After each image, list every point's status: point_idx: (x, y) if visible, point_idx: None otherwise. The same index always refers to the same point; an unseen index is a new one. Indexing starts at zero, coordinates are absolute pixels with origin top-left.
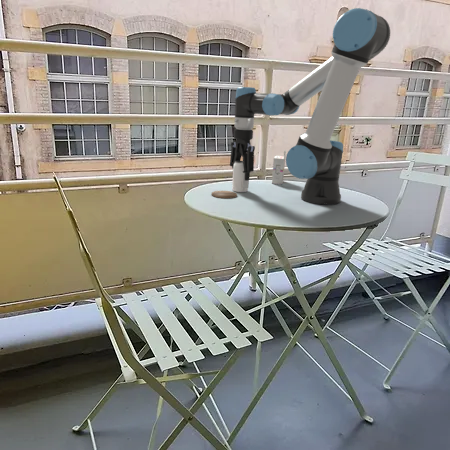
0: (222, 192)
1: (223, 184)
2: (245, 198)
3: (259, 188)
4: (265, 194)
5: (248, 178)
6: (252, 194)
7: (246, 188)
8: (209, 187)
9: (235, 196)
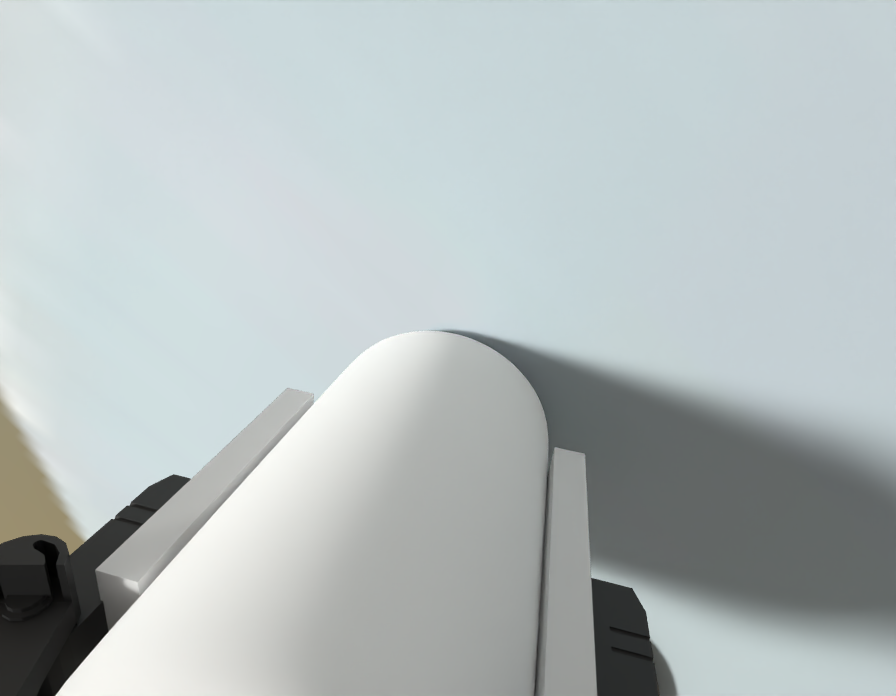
0: None
1: (69, 350)
2: (774, 636)
3: (464, 20)
4: (849, 269)
5: (640, 643)
6: (694, 435)
7: (545, 446)
8: None
9: None
